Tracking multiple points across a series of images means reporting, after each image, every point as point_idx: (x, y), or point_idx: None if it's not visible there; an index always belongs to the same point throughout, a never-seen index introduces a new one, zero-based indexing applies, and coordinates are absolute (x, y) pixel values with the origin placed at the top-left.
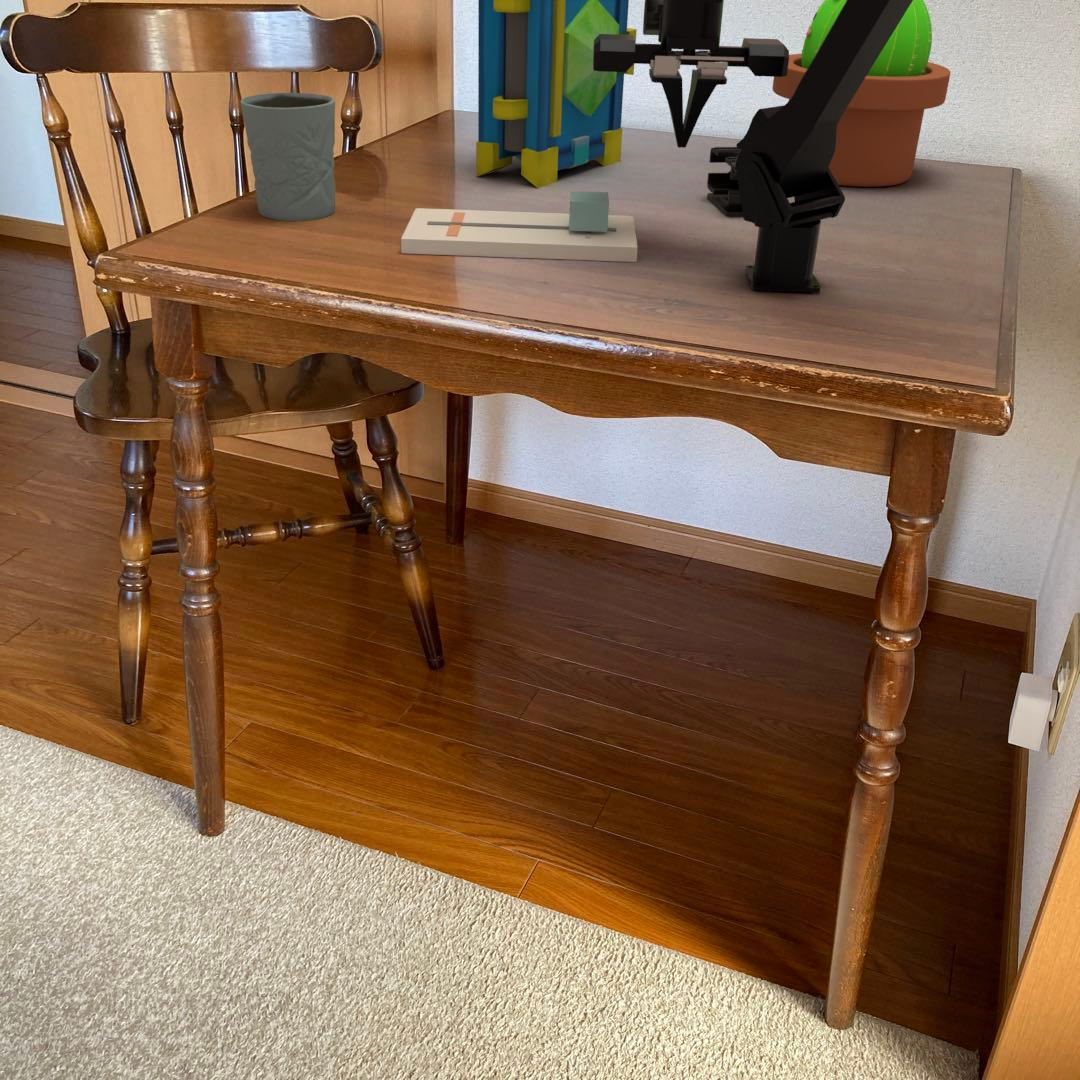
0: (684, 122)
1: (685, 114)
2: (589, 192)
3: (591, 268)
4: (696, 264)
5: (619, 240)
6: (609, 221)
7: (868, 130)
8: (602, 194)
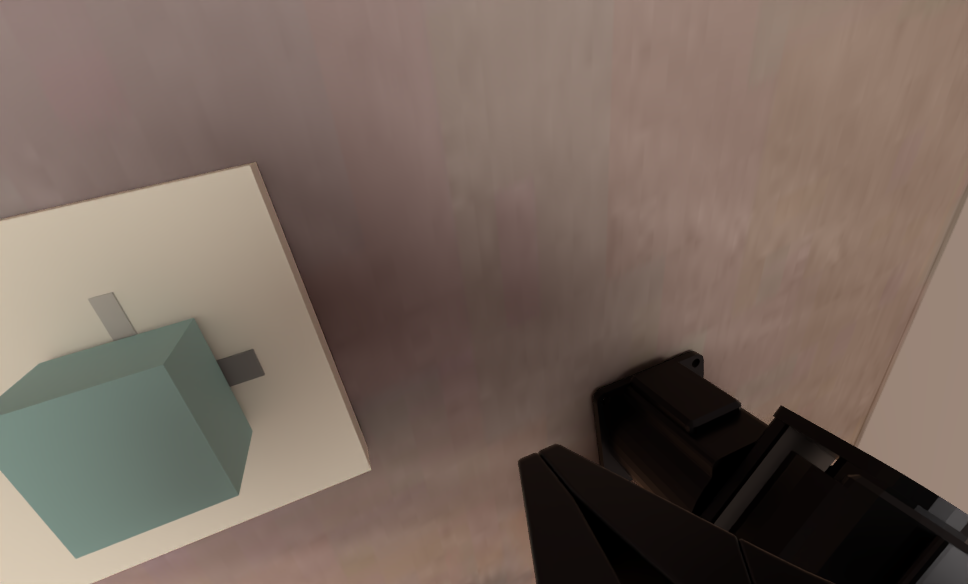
0: (617, 571)
1: (651, 581)
2: (78, 408)
3: (278, 532)
4: (498, 393)
5: (306, 445)
6: (192, 273)
7: None
8: (156, 409)
